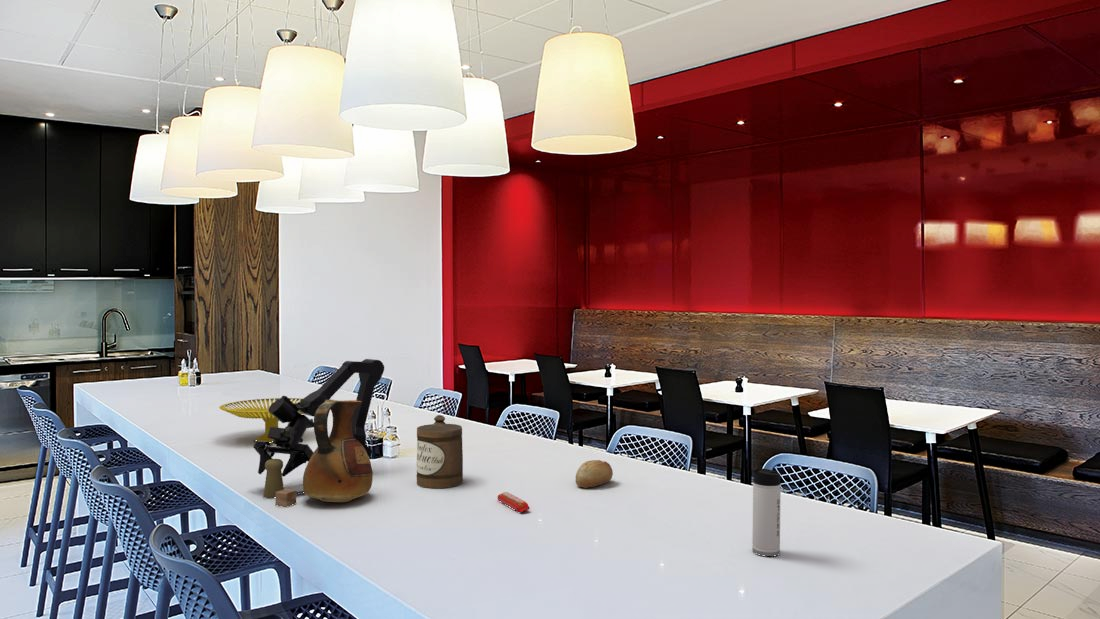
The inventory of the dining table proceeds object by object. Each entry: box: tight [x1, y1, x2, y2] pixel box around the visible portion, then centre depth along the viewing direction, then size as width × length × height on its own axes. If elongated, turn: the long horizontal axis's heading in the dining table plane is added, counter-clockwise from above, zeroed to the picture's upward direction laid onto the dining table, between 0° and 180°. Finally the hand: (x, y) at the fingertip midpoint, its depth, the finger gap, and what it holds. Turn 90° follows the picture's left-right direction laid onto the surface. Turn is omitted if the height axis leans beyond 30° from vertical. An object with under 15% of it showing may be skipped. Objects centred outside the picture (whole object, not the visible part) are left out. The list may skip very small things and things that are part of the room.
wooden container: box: [416, 414, 464, 489], centre depth 237 cm, size 15×15×22 cm
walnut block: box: [275, 489, 297, 508], centre depth 211 cm, size 4×4×4 cm
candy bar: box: [497, 491, 531, 513], centre depth 211 cm, size 16×4×3 cm, turn 29°
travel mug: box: [751, 467, 782, 556], centre depth 174 cm, size 6×7×20 cm
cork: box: [263, 458, 285, 499], centre depth 221 cm, size 6×6×11 cm
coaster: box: [284, 483, 304, 495], centre depth 227 cm, size 8×8×1 cm
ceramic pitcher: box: [302, 398, 374, 503], centre depth 217 cm, size 20×20×30 cm
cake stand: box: [218, 397, 304, 442], centre depth 306 cm, size 40×40×15 cm
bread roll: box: [575, 459, 614, 489], centre depth 236 cm, size 10×15×8 cm, turn 139°
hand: (271, 474), depth 219 cm, fingers open, 8 cm apart
